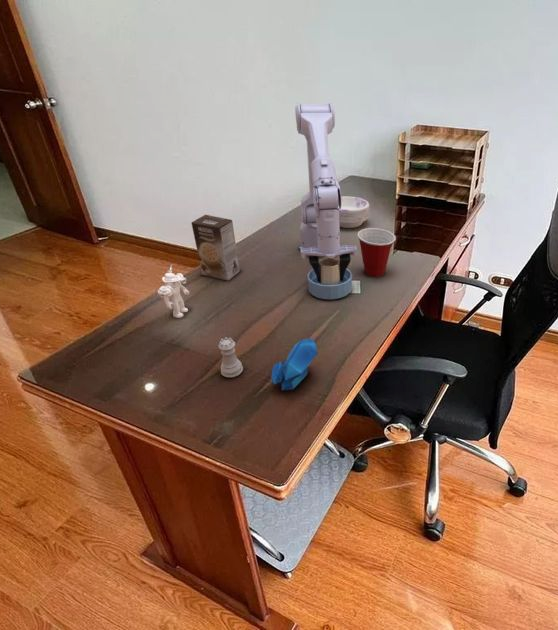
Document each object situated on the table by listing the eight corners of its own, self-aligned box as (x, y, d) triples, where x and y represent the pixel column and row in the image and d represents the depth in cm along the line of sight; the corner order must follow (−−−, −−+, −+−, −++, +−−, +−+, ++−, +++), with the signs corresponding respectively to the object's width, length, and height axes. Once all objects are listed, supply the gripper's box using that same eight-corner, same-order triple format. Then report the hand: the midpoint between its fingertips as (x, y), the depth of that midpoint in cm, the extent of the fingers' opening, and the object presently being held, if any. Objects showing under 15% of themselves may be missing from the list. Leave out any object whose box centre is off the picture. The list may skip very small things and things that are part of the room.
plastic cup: (390, 283, 124) (392, 244, 117) (353, 278, 125) (353, 240, 119) (396, 266, 133) (398, 229, 126) (361, 262, 134) (362, 225, 128)
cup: (316, 285, 119) (314, 262, 115) (329, 278, 123) (329, 255, 119) (330, 292, 116) (329, 269, 112) (344, 284, 120) (344, 261, 116)
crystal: (258, 368, 82) (290, 324, 89) (269, 394, 88) (298, 351, 96) (292, 379, 79) (322, 333, 87) (301, 405, 86) (329, 360, 93)
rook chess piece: (223, 365, 93) (216, 334, 88) (244, 364, 93) (239, 334, 89) (219, 379, 89) (212, 348, 85) (241, 378, 89) (235, 347, 85)
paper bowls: (376, 221, 162) (377, 200, 158) (353, 235, 151) (353, 213, 147) (343, 213, 169) (343, 192, 164) (318, 225, 158) (317, 203, 154)
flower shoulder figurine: (182, 302, 113) (172, 261, 106) (196, 304, 112) (186, 262, 106) (162, 322, 105) (149, 278, 99) (177, 324, 105) (165, 280, 98)
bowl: (299, 290, 119) (298, 276, 117) (329, 274, 127) (329, 261, 125) (331, 305, 113) (330, 291, 111) (360, 288, 121) (360, 274, 118)
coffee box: (200, 275, 125) (189, 222, 116) (214, 265, 130) (204, 214, 121) (228, 281, 123) (218, 227, 114) (241, 271, 128) (232, 218, 119)
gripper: (300, 241, 106) (303, 289, 114) (359, 237, 109) (358, 285, 116) (298, 229, 112) (302, 276, 120) (354, 226, 115) (354, 272, 122)
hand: (330, 279), depth 118 cm, fingers closed on cup, 5 cm apart
